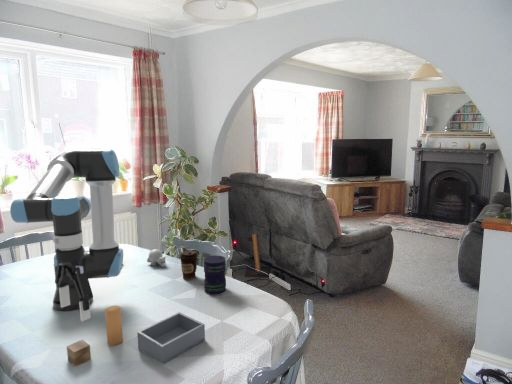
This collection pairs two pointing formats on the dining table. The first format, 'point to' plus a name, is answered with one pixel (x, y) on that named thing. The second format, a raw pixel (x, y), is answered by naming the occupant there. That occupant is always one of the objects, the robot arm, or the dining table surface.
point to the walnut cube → (78, 352)
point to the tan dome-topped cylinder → (114, 325)
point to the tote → (171, 337)
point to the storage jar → (214, 275)
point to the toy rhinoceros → (156, 258)
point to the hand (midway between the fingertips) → (75, 312)
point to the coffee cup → (189, 264)
